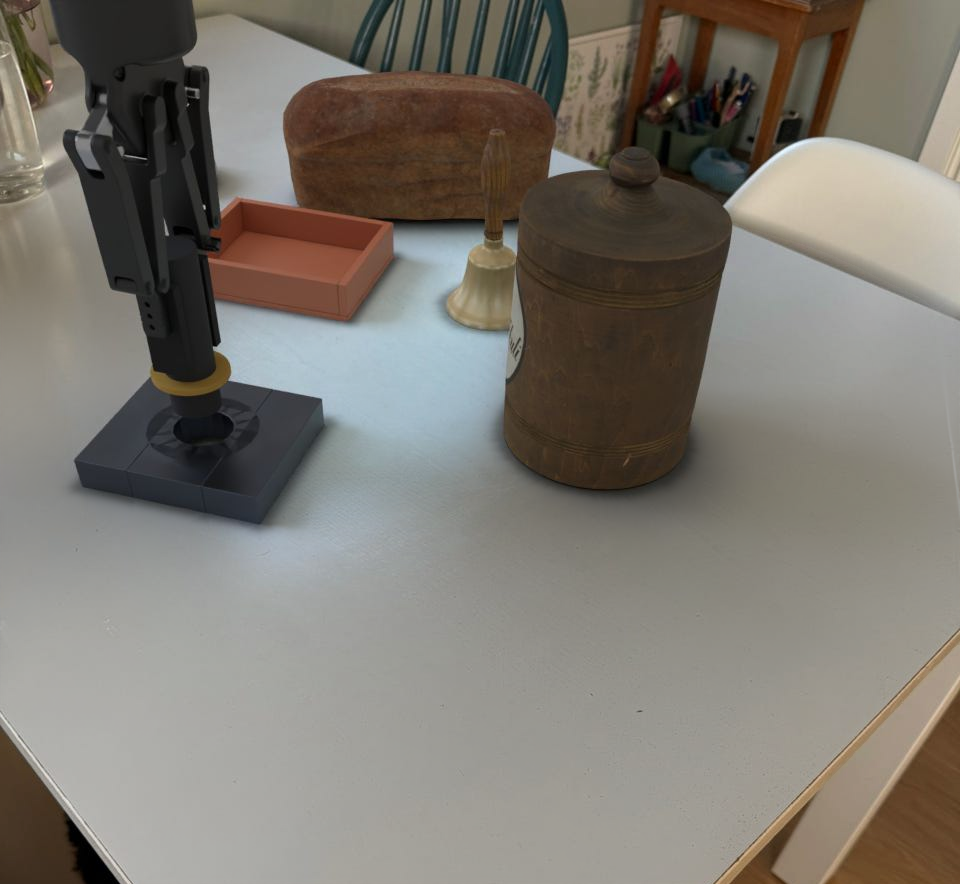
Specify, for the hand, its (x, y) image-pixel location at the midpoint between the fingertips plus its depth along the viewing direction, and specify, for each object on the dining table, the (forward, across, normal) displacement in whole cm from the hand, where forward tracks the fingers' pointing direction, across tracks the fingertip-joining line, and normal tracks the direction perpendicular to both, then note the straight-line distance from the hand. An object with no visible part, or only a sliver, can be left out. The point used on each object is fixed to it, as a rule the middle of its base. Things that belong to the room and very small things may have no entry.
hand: (188, 355), depth 69 cm
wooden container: (+8, +12, -28) cm, 32 cm away
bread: (+9, +49, -2) cm, 50 cm away
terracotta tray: (+9, +29, +5) cm, 31 cm away
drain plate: (+8, 0, 0) cm, 9 cm away
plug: (+4, 0, 0) cm, 4 cm away
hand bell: (+9, +29, -15) cm, 34 cm away
